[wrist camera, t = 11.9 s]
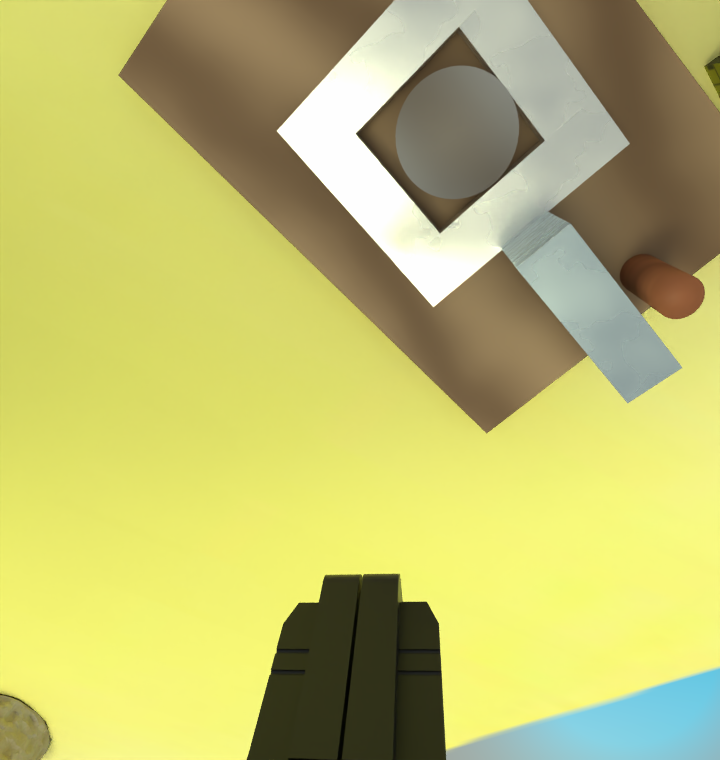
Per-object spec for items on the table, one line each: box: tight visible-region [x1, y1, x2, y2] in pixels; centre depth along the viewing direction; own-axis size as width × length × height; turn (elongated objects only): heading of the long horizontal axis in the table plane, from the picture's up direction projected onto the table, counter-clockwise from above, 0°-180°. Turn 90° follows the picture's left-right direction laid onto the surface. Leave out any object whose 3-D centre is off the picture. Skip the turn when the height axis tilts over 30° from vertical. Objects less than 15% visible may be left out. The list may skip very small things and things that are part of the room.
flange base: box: [119, 0, 720, 433], centre depth 22 cm, size 17×25×8 cm
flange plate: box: [277, 0, 682, 403], centre depth 22 cm, size 18×10×6 cm, turn 43°
